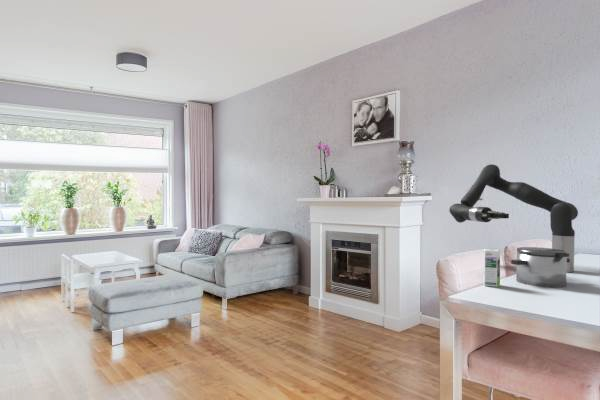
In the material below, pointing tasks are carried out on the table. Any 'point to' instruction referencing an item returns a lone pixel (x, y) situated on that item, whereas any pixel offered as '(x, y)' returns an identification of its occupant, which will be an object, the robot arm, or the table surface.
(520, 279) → the pot
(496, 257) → the syrup box
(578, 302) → the table surface
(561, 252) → the lid
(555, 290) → the table surface
